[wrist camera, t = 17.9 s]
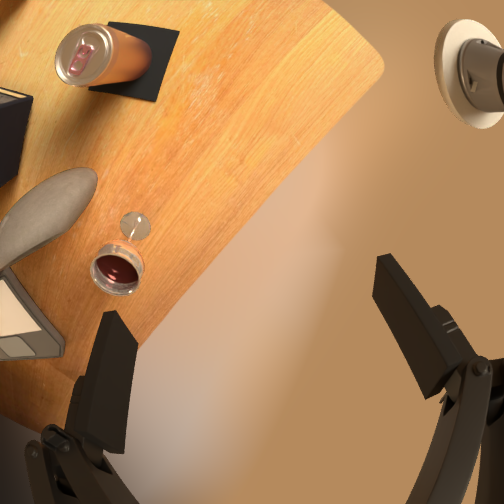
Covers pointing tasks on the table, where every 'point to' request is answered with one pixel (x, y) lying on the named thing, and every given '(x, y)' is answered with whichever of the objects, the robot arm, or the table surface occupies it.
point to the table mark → (151, 80)
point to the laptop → (24, 325)
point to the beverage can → (101, 56)
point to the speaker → (12, 130)
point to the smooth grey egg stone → (45, 213)
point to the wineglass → (121, 258)
